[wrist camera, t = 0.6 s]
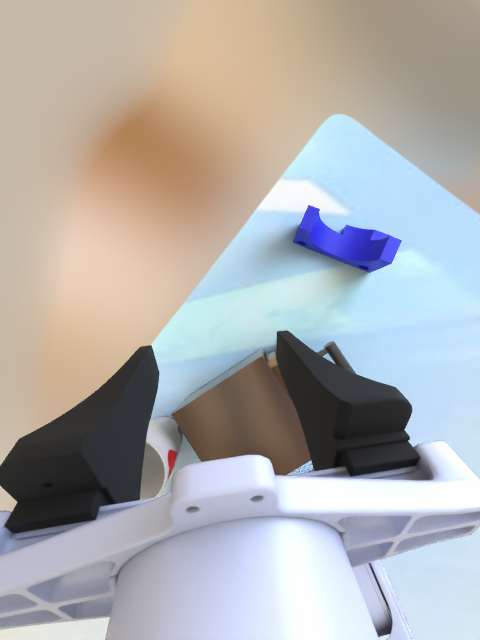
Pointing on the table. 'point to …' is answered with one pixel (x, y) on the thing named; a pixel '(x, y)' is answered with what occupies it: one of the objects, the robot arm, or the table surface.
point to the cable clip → (347, 243)
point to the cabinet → (245, 417)
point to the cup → (159, 455)
